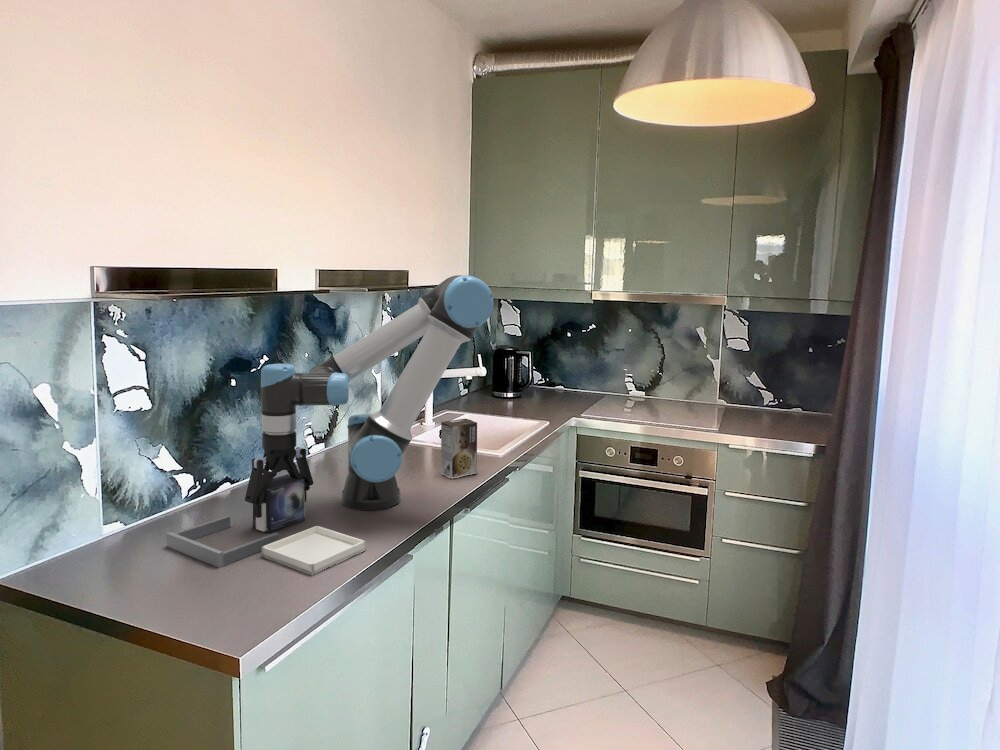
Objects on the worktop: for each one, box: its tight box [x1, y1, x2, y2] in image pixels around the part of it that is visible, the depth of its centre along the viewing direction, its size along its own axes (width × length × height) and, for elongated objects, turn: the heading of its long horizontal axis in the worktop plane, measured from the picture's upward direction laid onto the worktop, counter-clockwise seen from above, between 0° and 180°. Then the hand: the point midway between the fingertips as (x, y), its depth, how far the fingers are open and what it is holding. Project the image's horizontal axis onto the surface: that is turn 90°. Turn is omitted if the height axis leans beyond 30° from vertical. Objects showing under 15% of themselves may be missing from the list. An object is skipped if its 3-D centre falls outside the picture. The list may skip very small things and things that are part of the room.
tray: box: [260, 525, 367, 576], centre depth 148 cm, size 15×15×2 cm
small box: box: [252, 473, 305, 534], centre depth 164 cm, size 11×6×10 cm, turn 147°
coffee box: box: [440, 418, 478, 477], centre depth 206 cm, size 9×6×16 cm
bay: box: [165, 515, 280, 568], centre depth 151 cm, size 15×18×3 cm
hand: (281, 522), depth 164 cm, fingers closed on small box, 11 cm apart
